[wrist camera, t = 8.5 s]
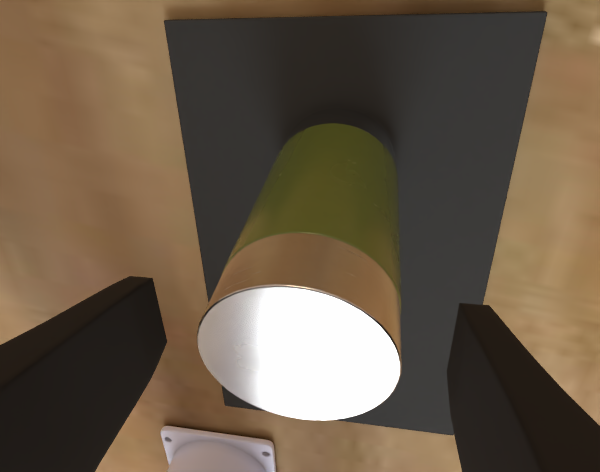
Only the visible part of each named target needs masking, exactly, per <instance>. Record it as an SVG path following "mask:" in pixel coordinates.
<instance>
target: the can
mask: <svg viewBox="0 0 600 472" xmlns="http://www.w3.org/2000/svg"><path fill="white" fill-rule="evenodd" d="M400 316H401V271H400V233H399V196H398V174H397V157H396V151H395V148H394V145H393V142H392V140H391V138H390V137H389V135H388V133H387V132H386V131H385V130H384V128H383V127H382V126H381V125H380V124H379V123H377V122H376V121H375V120H374V119H372V118H371V117H369V116H367V115H365V114H363V113H360V112H358V111H355V110H350V109H342V108H333V109H326V110H321V111H318V112H315V113H313V114H311V115H309V116H307V117H306V118H304V119H303V120H301V121H300V122H299V123H298V124H297V125H296V126H295V127H294V128H293V129H292V130H291V132H290V134H289V135H288V137H287V139H286V141H285V143H284V145H283V147H282V149H281V151H280V152H279V154H278V156H277V158H276V160H275V162H274V164H273V167H272V169H271V171H270V173H269V175H268V177H267V179H266V181H265V183H264V185H263V188H262V190H261V192H260V194H259V196H258V198H257V200H256V202H255V204H254V206H253V208H252V211H251V213H250V215H249V217H248V219H247V221H246V223H245V225H244V227H243V229H242V231H241V234H240V236H239V238H238V240H237V242H236V244H235V246H234V248H233V250H232V252H231V255H230V257H229V259H228V261H227V263H226V265H225V267H224V270H223V272H222V276H221V278H220V280H219V283H218V285H217V287H216V289H215V291H214V293H213V295H212V297H211V299H210V302H209V304H208V306H207V308H206V310H205V312H204V314H203V316H202V319H201V321H200V323H199V326H198V331H197V344H198V349H199V353H200V356H201V358H202V360H203V362H204V364H205V366H206V368H207V369H208V370H209V372H210V373H211V374H212V376H213V377H214V378H215V379H216V380H217V381H218V382H219V383H220V384H221V385H222V386H224V387H225V388H226V389H227V390H228V391H230V392H231V393H233V394H234V395H235V396H237V397H239V398H240V399H242V400H244V401H245V402H248V403H250V404H252V405H254V406H256V407H258V408H261V409H263V410H266V411H269V412H272V413H275V414H278V415H282V416H286V417H291V418H297V419H304V420H337V419H344V418H349V417H353V416H357V415H360V414H362V413H365V412H367V411H369V410H371V409H374V408H375V407H377V406H378V405H380V404H381V403H383V402H384V401H385V400H386V399H387V398H388V397H389V396H390V395H391V394H392V392H393V391H394V390H395V388H396V386H397V384H398V382H399V379H400V375H401V365H402V360H401V318H400Z"/></svg>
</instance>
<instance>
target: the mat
mask: <svg viewBox="0 0 600 472" xmlns="http://www.w3.org/2000/svg"><path fill="white" fill-rule="evenodd" d="M546 16H547V12H546V11H534V12H490V13H446V14H403V15H359V16H316V17H272V18H228V19H185V20H165V21H164V24H165V30H166V36H167V43H168V49H169V55H170V62H171V68H172V74H173V81H174V87H175V93H176V99H177V106H178V112H179V118H180V125H181V131H182V137H183V144H184V150H185V156H186V163H187V169H188V175H189V182H190V188H191V194H192V201H193V207H194V213H195V219H196V226H197V232H198V238H199V245H200V251H201V257H202V264H203V270H204V276H205V283H206V289H207V295H208V302H210V299H211V297H212V295H213V293H214V291H215V289H216V287H217V285H218V283H219V280H220V278H221V276H222V272H223V270H224V267H225V265H226V263H227V261H228V259H229V257H230V255H231V252H232V250H233V248H234V246H235V244H236V242H237V240H238V238H239V236H240V234H241V231H242V229H243V227H244V225H245V223H246V221H247V219H248V217H249V215H250V213H251V211H252V208H253V206H254V204H255V202H256V200H257V198H258V196H259V194H260V192H261V190H262V188H263V185H264V183H265V181H266V179H267V177H268V175H269V173H270V171H271V169H272V167H273V164H274V162H275V160H276V158H277V156H278V154H279V152H280V151H281V149H282V147H283V145H284V143H285V141H286V139H287V137H288V135H289V134H290V132H291V130H292V129H293V128H294V127H295V126H296V125H297V124H298V123H299V122H300V121H301V120H303V119H304V118H306V117H307V116H309V115H311V114H313V113H315V112H318V111H321V110H326V109H333V108H342V109H350V110H355V111H358V112H360V113H363V114H365V115H367V116H369V117H371V118H372V119H374V120H375V121H376V122H377V123H379V124H380V125H381V126H382V127H383V128H384V130H385V131H386V132H387V133H388V135H389V137H390V138H391V140H392V142H393V145H394V148H395V151H396V157H397V174H398V196H399V233H400V271H401V316H400V318H401V360H402V365H401V375H400V379H399V382H398V384H397V386H396V388H395V390H394V391H393V392H392V394H391V395H390V396H389V397H388V398H387V399H386V400H385V401H384V402H383V403H381V404H380V405H378V406H377V407H375V408H374V409H371V410H369V411H367V412H365V413H362V414H360V415H357V416H353V417H349V418H344V419H337V420H339V421H347V422H354V423H362V424H370V425H377V426H385V427H393V428H400V429H408V430H416V431H423V432H431V433H439V434H446V435H454V430H453V425H452V420H451V415H450V405H449V395H448V383H447V367H448V361H449V356H450V351H451V345H452V340H453V335H454V329H455V324H456V318H457V313H458V308H459V303H466V304H478V305H483V301H484V296H485V292H486V287H487V283H488V278H489V274H490V269H491V265H492V260H493V256H494V251H495V246H496V242H497V237H498V233H499V228H500V224H501V219H502V215H503V210H504V206H505V201H506V197H507V192H508V188H509V183H510V179H511V174H512V170H513V165H514V161H515V156H516V152H517V147H518V143H519V138H520V134H521V129H522V125H523V120H524V116H525V111H526V107H527V102H528V98H529V93H530V89H531V84H532V80H533V75H534V71H535V66H536V62H537V57H538V53H539V48H540V44H541V39H542V35H543V30H544V25H545V21H546ZM222 390H223V396H224V403H225V406H232V407H240V408H247V409H255V410H263V409H261V408H258V407H256V406H254V405H252V404H250V403H248V402H245V401H244V400H242V399H240V398H239V397H237V396H235V395H234V394H233V393H231V392H230V391H228V390H227V389H226V388H225V387H224V386H222ZM263 411H266V410H263Z"/></svg>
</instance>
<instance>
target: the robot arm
mask: <svg viewBox="0 0 600 472" xmlns="http://www.w3.org/2000/svg"><path fill="white" fill-rule="evenodd" d="M166 343H167V339H166V335H165V331H164V326H163V322H162V317H161V313H160V309H159V304H158V300H157V295H156V291H155V287H154V282H153V278H145V277H133V276H129V277H127V278H125V279H123V280H121V281H119V282H117V283H115V284H113V285H111V286H109V287H107V288H105V289H103V290H102V291H100V292H98V293H96V294H94V295H93V296H91V297H89V298H87V299H85V300H84V301H82V302H80V303H78V304H76V305H75V306H73V307H71V308H69V309H68V310H66V311H64V312H62V313H60V314H59V315H57V316H55V317H53V318H51V319H50V320H48V321H46V322H44V323H42V324H40V325H38V326H36V327H35V328H33V329H31V330H29V331H27V332H25V333H23V334H21V335H19V336H17V337H15V338H13V339H11V340H9V341H8V342H6V343H4V344H2V345H0V472H95V470H96V469H97V467H98V465H99V463H100V462H101V460H102V458H103V457H104V455H105V454H106V452H107V450H108V449H109V447H110V445H111V444H112V442H113V441H114V439H115V437H116V436H117V434H118V432H119V431H120V429H121V428H122V426H123V424H124V423H125V421H126V419H127V418H128V416H129V415H130V413H131V411H132V410H133V408H134V406H135V405H136V403H137V401H138V400H139V398H140V396H141V395H142V393H143V391H144V390H145V388H146V386H147V385H148V383H149V381H150V380H151V378H152V375H153V373H154V371H155V369H156V367H157V365H158V362H159V360H160V358H161V355H162V353H163V351H164V348H165V346H166ZM447 383H448V395H449V405H450V415H451V420H452V425H453V430H454V435H455V440H456V444H457V449H458V454H459V459H460V463H461V468H462V472H600V426H599V425H598V424H597V423H596V422H595V421H594V420H593V419H592V418H591V417H590V416H589V415H588V414H587V413H586V412H585V411H584V410H583V409H582V408H581V407H580V406H579V405H578V404H577V403H576V402H575V401H574V400H573V399H572V398H571V397H570V396H569V395H568V394H567V393H566V392H565V391H564V390H563V389H562V388H561V387H560V386H559V385H558V384H557V383H556V381H555V380H554V379H553V378H552V377H551V376H550V375H549V374H548V373H547V372H546V371H545V369H544V368H543V367H542V366H541V365H540V364H539V363H538V362H537V361H536V360H535V358H534V357H533V356H532V355H531V354H530V353H529V352H528V350H527V349H526V348H525V347H524V346H523V345H522V344H521V342H520V341H519V340H518V339H517V338H516V336H515V335H514V334H513V333H512V332H511V331H510V329H509V328H508V327H507V326H506V325H505V323H504V322H503V321H502V320H501V319H500V318H499V316H498V315H497V314H496V313H495V312H494V311H493V309H492V308H491V307H490V306H489V305H478V304H466V303H459V308H458V313H457V318H456V324H455V329H454V335H453V340H452V345H451V351H450V356H449V361H448V367H447ZM160 433H161V437H162V441H163V444H164V448H165V452H166V455H167V459H168V463H169V468H168V470H167V472H276V462H275V450H274V444H273V443H272V442H271V441H269V440H265V439H258V438H251V437H244V436H237V435H230V434H223V433H216V432H209V431H202V430H195V429H188V428H181V427H174V426H164V427H163V428H162V430H161V432H160Z"/></svg>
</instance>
